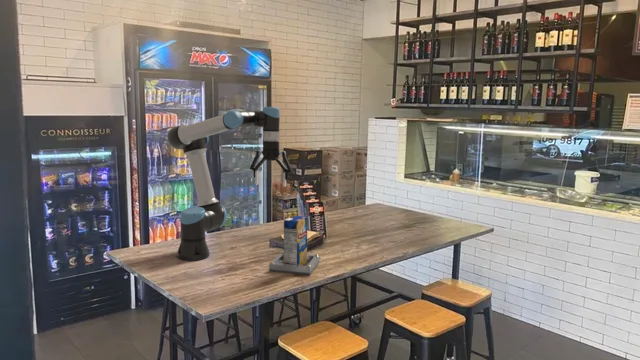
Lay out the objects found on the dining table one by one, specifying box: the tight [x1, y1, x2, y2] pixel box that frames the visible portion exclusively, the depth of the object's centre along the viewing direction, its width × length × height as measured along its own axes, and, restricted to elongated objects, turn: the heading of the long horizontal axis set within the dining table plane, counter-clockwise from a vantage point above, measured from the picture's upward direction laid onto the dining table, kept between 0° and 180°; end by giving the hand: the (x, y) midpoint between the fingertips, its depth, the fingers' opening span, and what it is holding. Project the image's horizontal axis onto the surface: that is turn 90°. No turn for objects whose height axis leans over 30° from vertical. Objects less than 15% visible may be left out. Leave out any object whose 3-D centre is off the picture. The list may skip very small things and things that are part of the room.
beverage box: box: [283, 215, 309, 265], centre depth 226 cm, size 7×11×22 cm, turn 157°
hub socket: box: [268, 250, 320, 276], centre depth 227 cm, size 19×19×4 cm
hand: (270, 185), depth 230 cm, fingers open, 13 cm apart
